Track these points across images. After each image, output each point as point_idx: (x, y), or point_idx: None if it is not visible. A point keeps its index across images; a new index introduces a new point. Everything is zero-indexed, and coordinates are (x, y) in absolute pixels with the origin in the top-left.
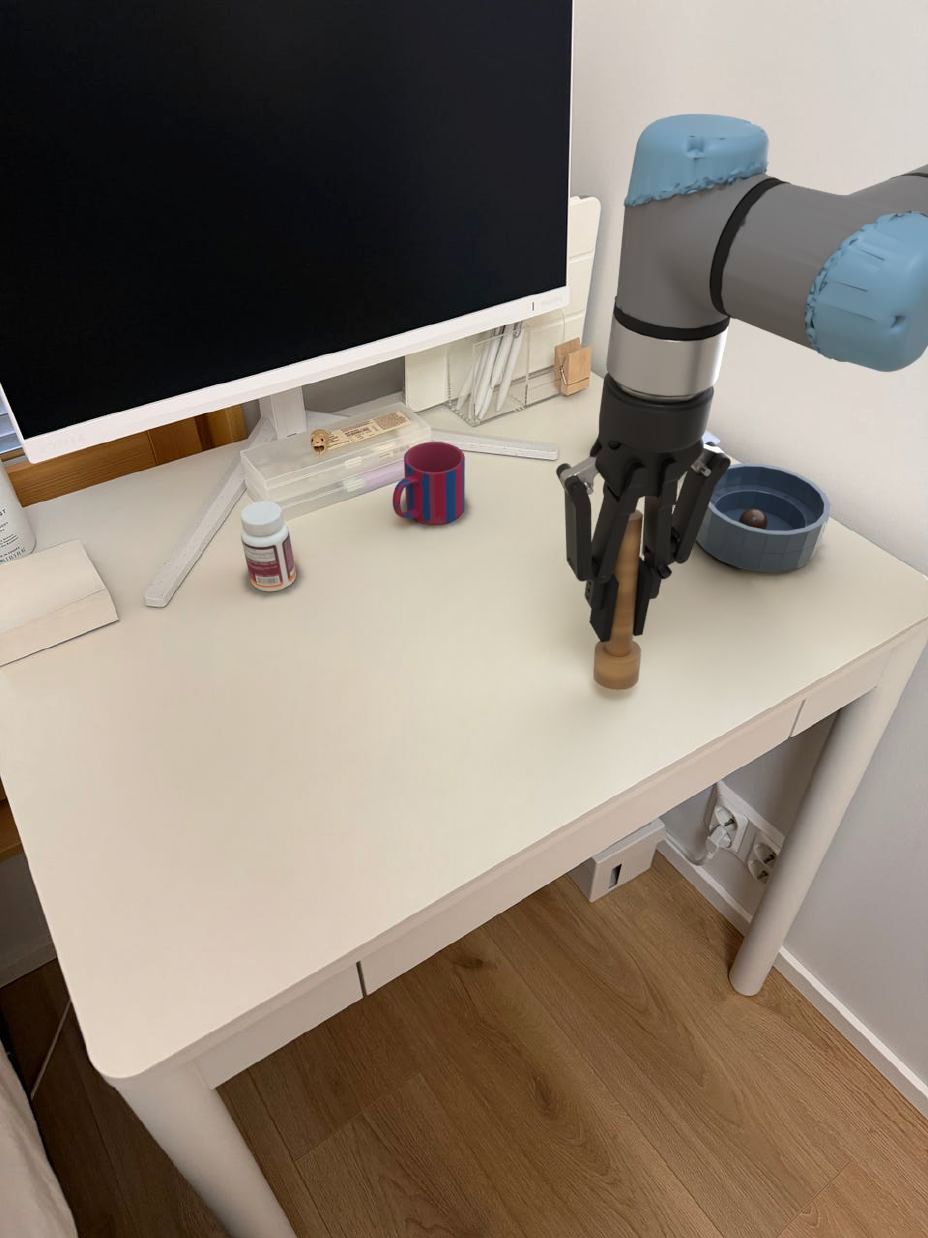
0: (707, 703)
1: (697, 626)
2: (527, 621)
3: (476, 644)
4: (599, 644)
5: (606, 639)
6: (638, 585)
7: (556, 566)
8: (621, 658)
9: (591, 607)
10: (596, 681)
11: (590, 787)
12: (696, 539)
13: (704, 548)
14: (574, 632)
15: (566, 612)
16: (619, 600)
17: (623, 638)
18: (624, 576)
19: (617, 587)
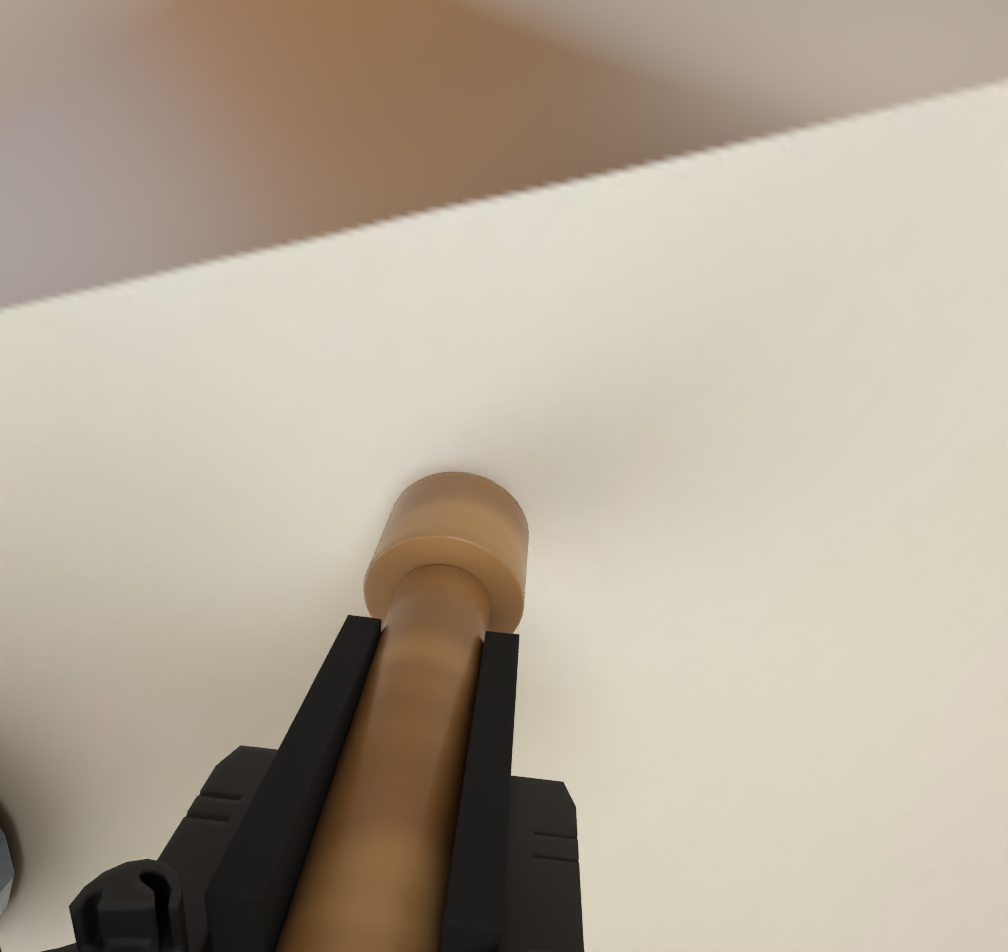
0: (222, 368)
1: (131, 623)
2: None
3: (726, 766)
4: None
5: (499, 639)
6: (304, 846)
7: None
8: (458, 557)
9: (571, 799)
10: (528, 533)
11: (716, 204)
12: (12, 867)
13: (2, 837)
14: None
15: None
16: (431, 793)
17: (437, 619)
18: (384, 949)
19: (454, 889)
